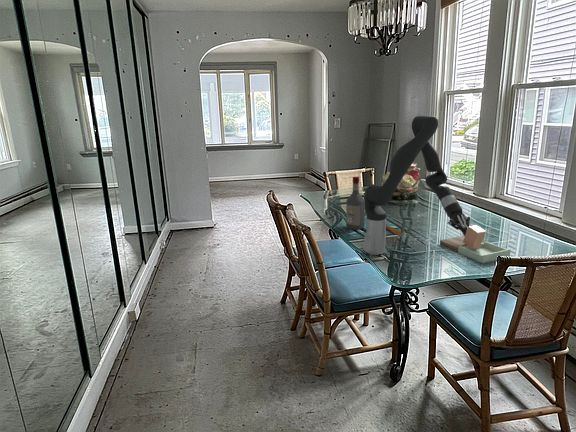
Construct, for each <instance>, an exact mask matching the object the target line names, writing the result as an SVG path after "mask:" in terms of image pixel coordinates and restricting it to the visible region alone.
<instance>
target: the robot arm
mask: <svg viewBox="0 0 576 432" xmlns="http://www.w3.org/2000/svg"><path fill="white" fill-rule="evenodd" d="M438 128H439V119H438V117H436V116H435V115H434V116H433V115H416V116H415V117H414V118H413V120H412V122H411V131H412V133H413V135H414V137H413V138H412V139H410V140H409V141H408V142H406V143H405V144H403V145H401V146H400V147H399V148H398V149H397V150H396V152H395V153H394V155H393V156H392V158H391V160H390V163H389V171H388V172H389V176H388V178H387V180H386V182H385V183H384V184H383V185H382V184H376V183H371V184H370V185H368V186H367V188H366V189H365V192H364V200H365V214H366V215H365V216H366V225H365V226H366V227H365V228H366V229H365V230H366V232H364V241H363V243H364V244H363V245H364V246H363V247H364V248H363V250H364V251H363V252H365V253H367V254H369V255H370V256H380V255H379V254H381V255H383V253H384V254H386V237H387V230H386V225H387V212H386V211H385V209H383V208H382V207H383V206H386V205H387V204H388V203H390V202H389V201H390V199H391V198H392V196H393V194H394V192H395V190H396V188H397V186H398V184H399V183H400V181H401V180H402V178H403V176H404V175H405V173H406V172H407V170H408V169H409V168H410V166H411V165H412V163H415V160H416V158H417V156H418V155H419V154H420V153H422V157H423V159H424V160H423V161H424V165H425V168H426V171H427V172H429V173H431V174H429V175H427V176H426V177H425V184H426V185H427V187H428V188H429V189H430V190H431V191H433V193H434V194H435V195H436V197H437V199H438V200H439V202H440V205H441V207H442V209H443V210H444V212H445V214H446V216H447V217H448V218H449V221H447V224H448V225H449V226H451V227H453V229H456V230H457V231H458V230H460V231H461V233H462V234H463V235H462V236H465V234H466V231H467V228H468V226H471V225H470V223H471V217H470V216H466V214H464V213H463V208H462V206H461V204H460V203H459V201H458V199H457V198H456V197H455V195H454V194H453V192H452V190H451V188H450V187H449V186H442V185H443V184H446V183H447V181H448V176H447V174H446V172H445V171H444V169H443V167H442V165H441V162H440V157H439V153H438V151H437V150H436V149H435V147H434V146H433V144H432V143H431V141H430V140H431V139H432V137H433V136H434V135H435V133H436V132H437V130H438Z"/></svg>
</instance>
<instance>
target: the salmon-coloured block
mask: <svg viewBox="0 0 576 432" xmlns="http://www.w3.org/2000/svg"><path fill="white" fill-rule="evenodd" d="M486 231H487V230H485V229H484V228H482V227H481V226H479V225H477V224H473V225H469V226H468V227H467V231H466V234H465V237H464V240H463V243H465V244H466V245H468V246H469V247H470V248H472V249H473V248H478V247H480V246H481V243H482V242H483V239H484V238H485V235H486V233H487V232H486Z"/></svg>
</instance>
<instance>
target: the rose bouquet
mask: <svg viewBox="0 0 576 432" xmlns="http://www.w3.org/2000/svg"><path fill="white" fill-rule="evenodd" d="M417 165H418V162H416V163H415V162H413V163H412V165H411V166H410V168H409V169H408V170H407V172H406V173H405V175H404V176H403V178H402V180H401V181H400V183H399V184H398V186H397V188H396V190H395V192H394V194H393V196H392V198H391V199H390V201H389V202H388V203H393V204H396V205H397V206H403V205H404V206H405V205H410V204H417V203H420V202H421V200H420V198H419V196H418V194H419V192H416V191H418V190H419V189H418V186H419V184H420V178H421V177H422V176H420V173H419V171H421V168H420V167H419V168H418V167H417ZM389 172H390V171H386V173H385V175H383V176H382V179H381V181H380V182H381V186H382V185H383V184H384V183H385V182H386V180H387V178H388V176H389Z"/></svg>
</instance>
